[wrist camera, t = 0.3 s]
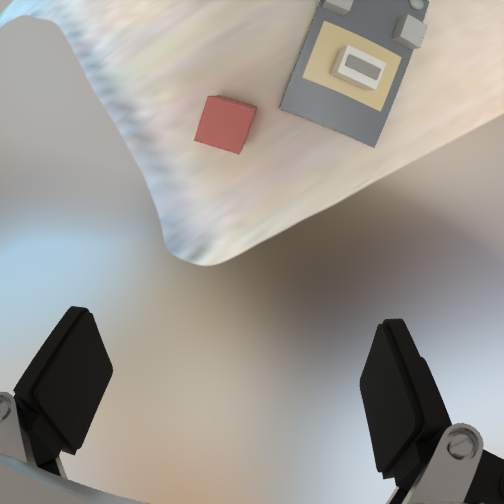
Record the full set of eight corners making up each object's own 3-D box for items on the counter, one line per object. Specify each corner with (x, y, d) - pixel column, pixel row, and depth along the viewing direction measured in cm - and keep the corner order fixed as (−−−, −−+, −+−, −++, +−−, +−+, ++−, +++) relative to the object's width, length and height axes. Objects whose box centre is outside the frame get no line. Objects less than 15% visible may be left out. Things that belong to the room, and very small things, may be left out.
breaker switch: (340, 49, 26) (349, 44, 23) (374, 65, 27) (388, 63, 23) (330, 73, 28) (338, 71, 24) (365, 89, 28) (377, 90, 25)
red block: (218, 95, 32) (208, 96, 26) (257, 107, 32) (254, 110, 27) (206, 132, 34) (194, 140, 28) (244, 144, 34) (239, 154, 29)
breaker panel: (336, -38, 23) (344, -52, 19) (422, 4, 24) (439, -3, 20) (279, 107, 32) (280, 110, 28) (369, 144, 33) (381, 152, 29)
